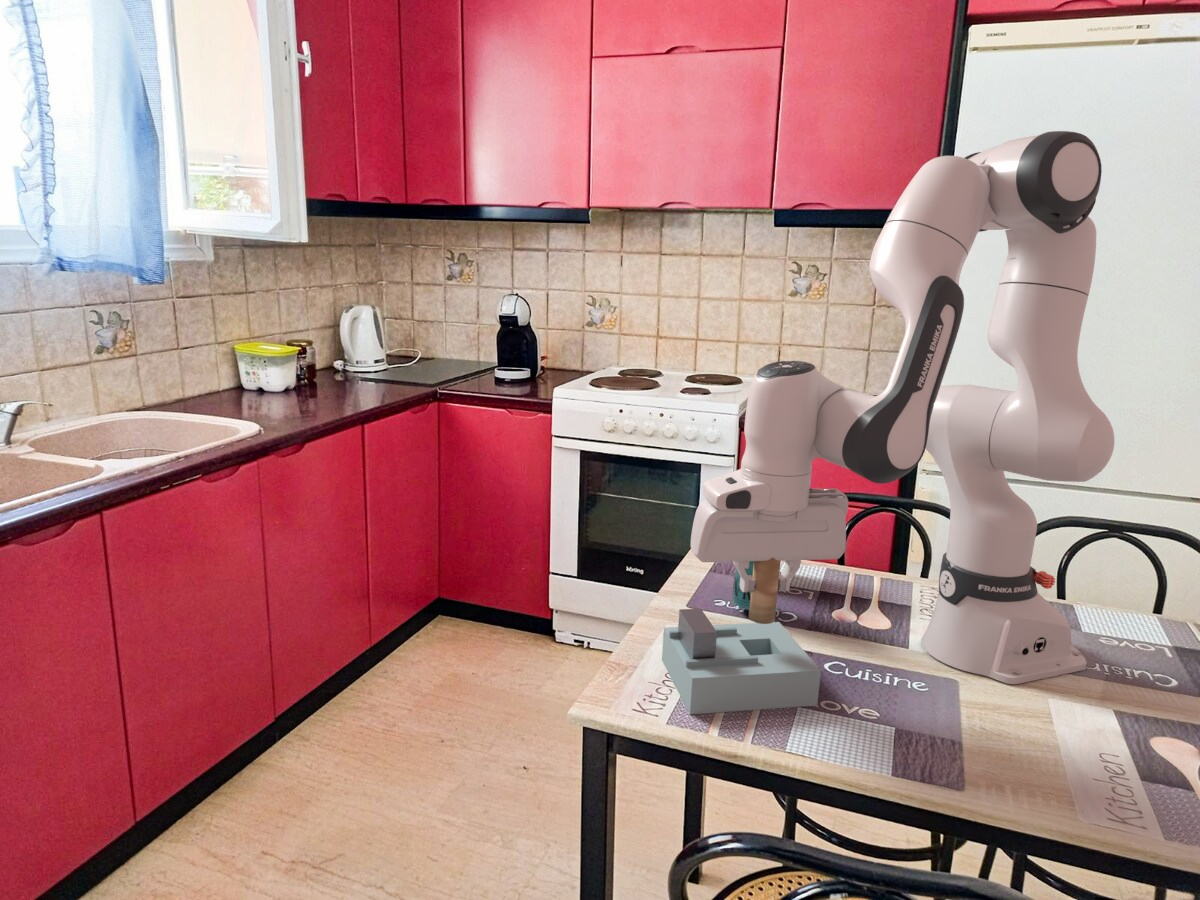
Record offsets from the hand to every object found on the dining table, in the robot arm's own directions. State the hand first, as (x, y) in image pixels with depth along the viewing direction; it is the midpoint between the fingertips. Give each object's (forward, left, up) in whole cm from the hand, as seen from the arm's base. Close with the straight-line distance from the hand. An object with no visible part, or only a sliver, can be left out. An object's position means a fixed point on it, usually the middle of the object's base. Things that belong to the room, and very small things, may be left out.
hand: (764, 590), depth 111 cm
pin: (0, 0, -4) cm, 4 cm away
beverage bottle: (-7, -21, -13) cm, 26 cm away
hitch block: (+3, 0, -13) cm, 13 cm away
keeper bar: (+9, 0, -8) cm, 12 cm away
